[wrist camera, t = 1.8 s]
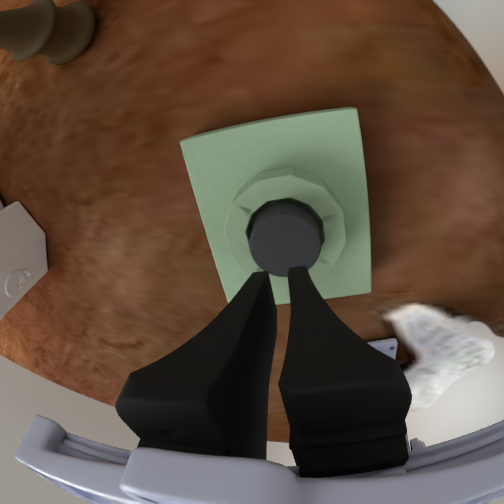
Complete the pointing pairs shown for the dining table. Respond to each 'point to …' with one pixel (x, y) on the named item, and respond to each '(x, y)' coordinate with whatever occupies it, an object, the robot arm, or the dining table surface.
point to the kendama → (47, 31)
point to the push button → (284, 238)
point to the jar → (19, 255)
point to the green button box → (286, 194)
